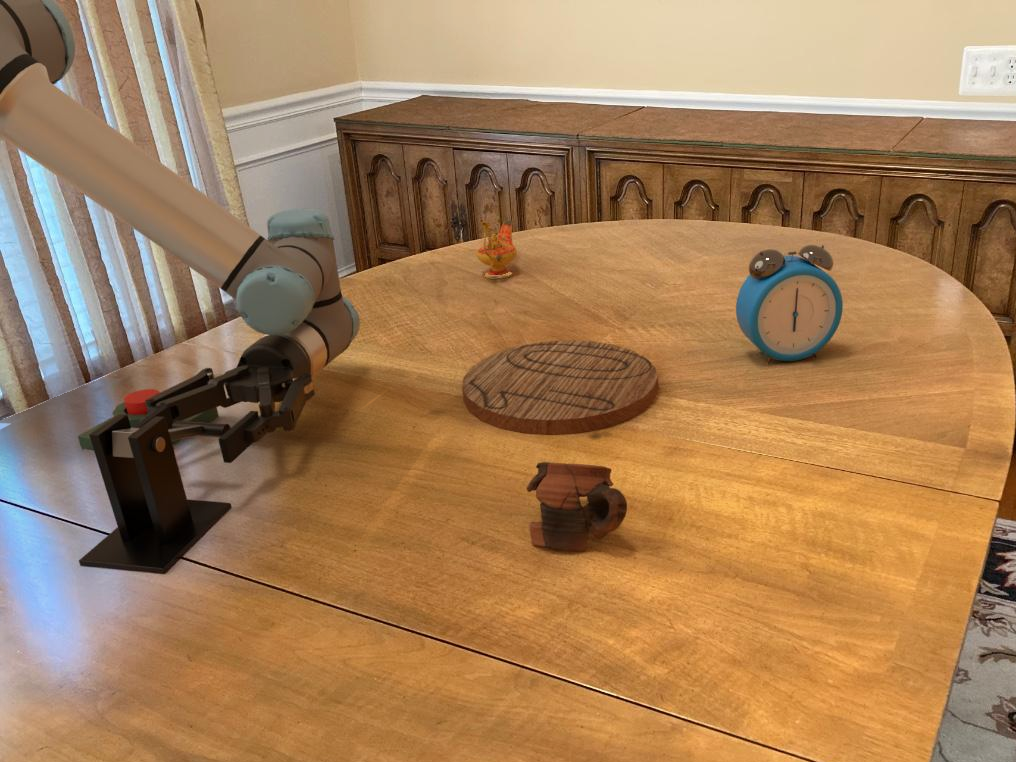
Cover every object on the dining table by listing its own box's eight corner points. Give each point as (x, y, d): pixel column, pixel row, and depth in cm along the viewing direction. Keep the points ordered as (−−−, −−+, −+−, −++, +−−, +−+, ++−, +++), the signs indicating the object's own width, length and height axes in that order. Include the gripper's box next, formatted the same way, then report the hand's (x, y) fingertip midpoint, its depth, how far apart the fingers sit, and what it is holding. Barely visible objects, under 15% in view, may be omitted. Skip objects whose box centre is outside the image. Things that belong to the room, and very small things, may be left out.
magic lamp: (530, 256, 178) (526, 195, 173) (507, 288, 163) (502, 222, 158) (494, 256, 179) (489, 195, 174) (468, 287, 164) (461, 222, 159)
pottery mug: (502, 543, 96) (509, 459, 96) (568, 543, 103) (574, 465, 103) (594, 555, 88) (601, 464, 88) (658, 555, 95) (664, 470, 95)
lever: (180, 437, 104) (179, 415, 104) (231, 441, 103) (230, 418, 103) (94, 455, 91) (93, 429, 91) (151, 459, 90) (151, 433, 90)
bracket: (155, 505, 103) (124, 396, 97) (233, 512, 102) (205, 401, 96) (81, 571, 93) (41, 452, 87) (166, 579, 91) (131, 459, 85)
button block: (82, 452, 115) (72, 422, 113) (157, 410, 125) (149, 381, 123) (148, 465, 111) (139, 434, 110) (220, 420, 121) (213, 391, 119)
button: (120, 414, 115) (116, 400, 114) (145, 400, 119) (141, 387, 118) (146, 418, 114) (142, 405, 113) (171, 404, 117) (167, 391, 116)
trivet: (623, 446, 112) (623, 431, 111) (428, 420, 119) (426, 406, 118) (679, 362, 133) (679, 349, 132) (510, 345, 140) (509, 333, 139)
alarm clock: (748, 369, 130) (753, 259, 123) (732, 352, 135) (736, 246, 128) (839, 357, 133) (849, 249, 125) (820, 341, 138) (828, 236, 131)
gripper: (373, 395, 118) (286, 487, 99) (205, 385, 122) (90, 472, 103) (364, 337, 114) (272, 421, 95) (192, 329, 119) (70, 408, 99)
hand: (177, 447), depth 99 cm, fingers open, 10 cm apart
